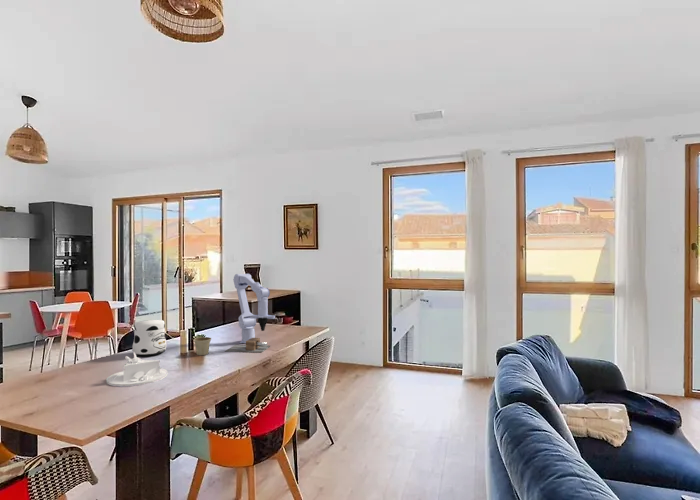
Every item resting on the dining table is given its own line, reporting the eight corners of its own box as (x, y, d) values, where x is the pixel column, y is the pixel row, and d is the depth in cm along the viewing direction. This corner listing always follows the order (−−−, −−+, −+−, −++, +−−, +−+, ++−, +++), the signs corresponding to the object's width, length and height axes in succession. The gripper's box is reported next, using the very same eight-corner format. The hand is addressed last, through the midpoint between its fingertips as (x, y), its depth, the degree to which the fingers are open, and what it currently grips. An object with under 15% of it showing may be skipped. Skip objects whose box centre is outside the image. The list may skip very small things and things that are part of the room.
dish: (98, 389, 172) (98, 362, 172) (116, 372, 196) (116, 349, 196) (161, 384, 178) (162, 358, 178) (171, 368, 202) (171, 346, 202)
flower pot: (207, 356, 225) (207, 340, 225) (190, 356, 225) (190, 340, 225) (213, 352, 234) (213, 337, 234) (197, 352, 234) (197, 337, 235)
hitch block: (235, 345, 251) (235, 336, 251) (270, 346, 249) (270, 337, 249) (224, 351, 235) (224, 341, 235) (261, 352, 233) (261, 342, 233)
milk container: (165, 356, 226) (165, 323, 226) (130, 359, 219) (130, 325, 219) (167, 349, 242) (167, 318, 242) (134, 351, 235) (134, 320, 235)
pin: (248, 346, 244) (248, 339, 244) (267, 347, 243) (267, 340, 243) (246, 348, 240) (246, 341, 240) (265, 348, 239) (265, 341, 239)
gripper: (249, 308, 244) (249, 331, 244) (272, 309, 242) (272, 332, 242) (253, 307, 251) (253, 329, 251) (276, 307, 249) (276, 329, 249)
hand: (262, 330), depth 247 cm, fingers closed
